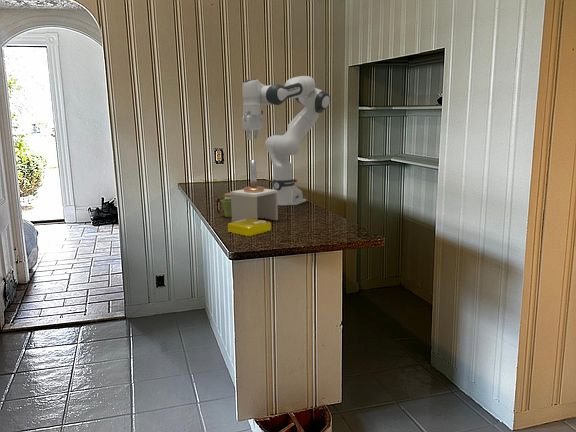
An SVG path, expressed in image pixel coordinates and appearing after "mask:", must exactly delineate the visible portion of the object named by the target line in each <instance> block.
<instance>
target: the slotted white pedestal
mask: <svg viewBox="0 0 576 432" xmlns="http://www.w3.org/2000/svg"><path fill="white" fill-rule="evenodd" d="M272 189H273V188H272ZM272 189H270V188H264V191H263V192H256V193H249V192H244V188H243V189H242V188H241V189H237V190H232V191H230V192H231V211H232V217H231V222H235V221H240V220H244V219H248V218H252V219H257V220H259V219H264V218H265V219H264V220H272V221H278V220H279V218H278V217H279V214H278V211H279V209H278V206H279V205H277V190H272ZM257 209H258V213H257ZM258 218H259V219H258Z"/></svg>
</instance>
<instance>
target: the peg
mask: <svg viewBox="0 0 576 432" xmlns="http://www.w3.org/2000/svg"><path fill="white" fill-rule="evenodd" d="M249 173H250V174H249V176H250V186H245V187H243V189H244V192H249V193H256V192H263V191H264V189H265V187H264V186H259V185H258V184H257V183H258V182H257V181H258V180H257V179H258V178H257V176H258V175H257V160H256V159H249ZM257 213H258V209H257Z"/></svg>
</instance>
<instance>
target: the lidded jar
mask: <svg viewBox="0 0 576 432" xmlns="http://www.w3.org/2000/svg"><path fill="white" fill-rule="evenodd" d="M231 192H232V191H230V192H227V193H224V194H223V196H224V199H229V198H231Z"/></svg>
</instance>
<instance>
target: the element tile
mask: <svg viewBox="0 0 576 432" xmlns="http://www.w3.org/2000/svg"><path fill="white" fill-rule="evenodd" d="M267 231H269V232H271V231H272V223H271V221H268V220H262V219H258V220H257V219H252V218H248V219H244V220H240V221H235V222H232V221H231V222H228V223H227V232H228V233H229V232H232V233H231V234H234V233H236V234H235V235H239V234H240V235H239V236H243V235H245V236H244V237H253V235H254V236H256V235H257V234H258V235H261V234H265V233H268V232H267ZM264 232H265V233H264ZM260 233H261V234H260Z"/></svg>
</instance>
